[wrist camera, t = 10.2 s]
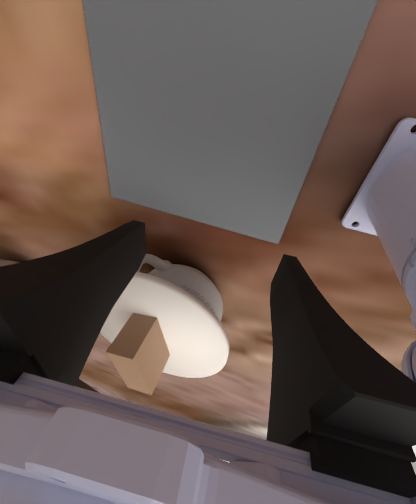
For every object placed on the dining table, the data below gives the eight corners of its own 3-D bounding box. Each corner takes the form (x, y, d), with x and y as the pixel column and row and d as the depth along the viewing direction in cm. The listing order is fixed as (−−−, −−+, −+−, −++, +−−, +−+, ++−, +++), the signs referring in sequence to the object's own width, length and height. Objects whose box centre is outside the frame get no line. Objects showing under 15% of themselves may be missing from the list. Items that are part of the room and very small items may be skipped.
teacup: (232, 318, 32) (216, 376, 26) (161, 306, 35) (133, 355, 29) (222, 229, 24) (195, 283, 18) (132, 225, 27) (84, 269, 21)
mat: (386, -25, 12) (389, -28, 11) (278, 241, 23) (278, 244, 22) (78, -56, 14) (73, -59, 14) (113, 195, 25) (111, 196, 25)
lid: (224, 284, 17) (204, 342, 13) (232, 384, 26) (221, 435, 22) (65, 261, 21) (16, 299, 18) (118, 352, 30) (93, 391, 26)
